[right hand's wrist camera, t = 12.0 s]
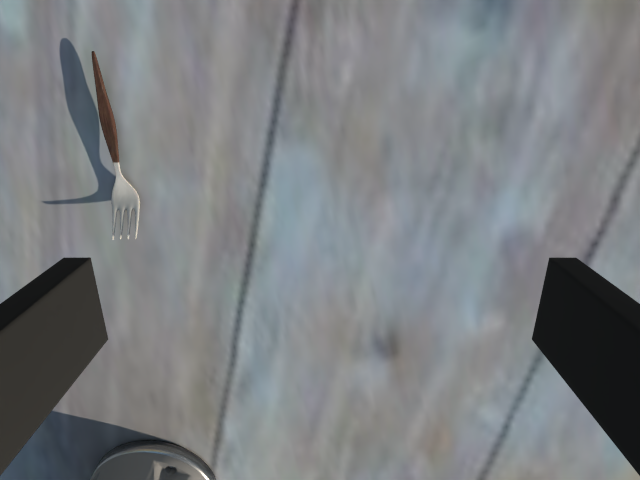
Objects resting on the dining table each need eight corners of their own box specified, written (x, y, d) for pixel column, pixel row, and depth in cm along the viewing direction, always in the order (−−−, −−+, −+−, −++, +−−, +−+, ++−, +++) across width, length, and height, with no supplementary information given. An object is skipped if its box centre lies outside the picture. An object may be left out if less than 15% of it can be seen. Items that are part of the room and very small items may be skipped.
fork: (111, 51, 35) (100, 49, 33) (146, 231, 41) (138, 239, 39) (80, 52, 35) (67, 51, 34) (119, 232, 41) (109, 240, 39)
